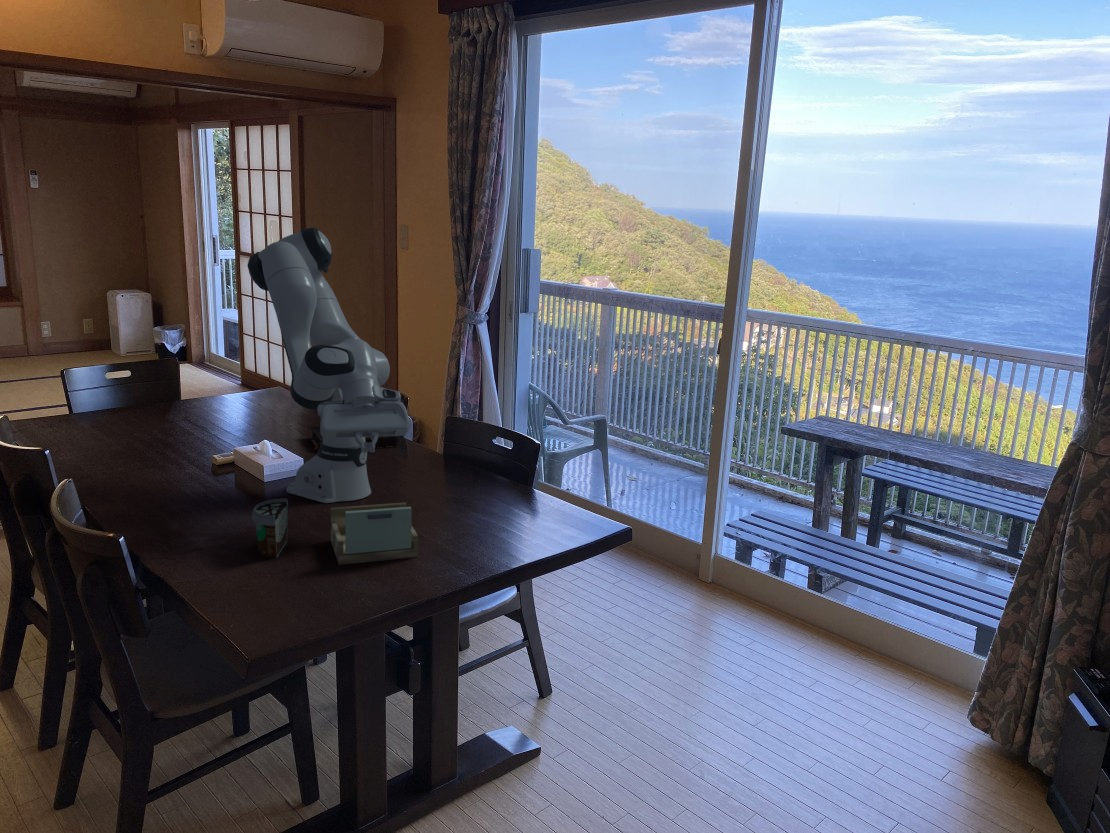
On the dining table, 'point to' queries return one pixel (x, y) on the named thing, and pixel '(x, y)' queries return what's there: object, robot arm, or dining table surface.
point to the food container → (271, 526)
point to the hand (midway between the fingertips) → (368, 451)
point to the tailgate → (377, 530)
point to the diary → (381, 441)
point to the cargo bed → (344, 558)
